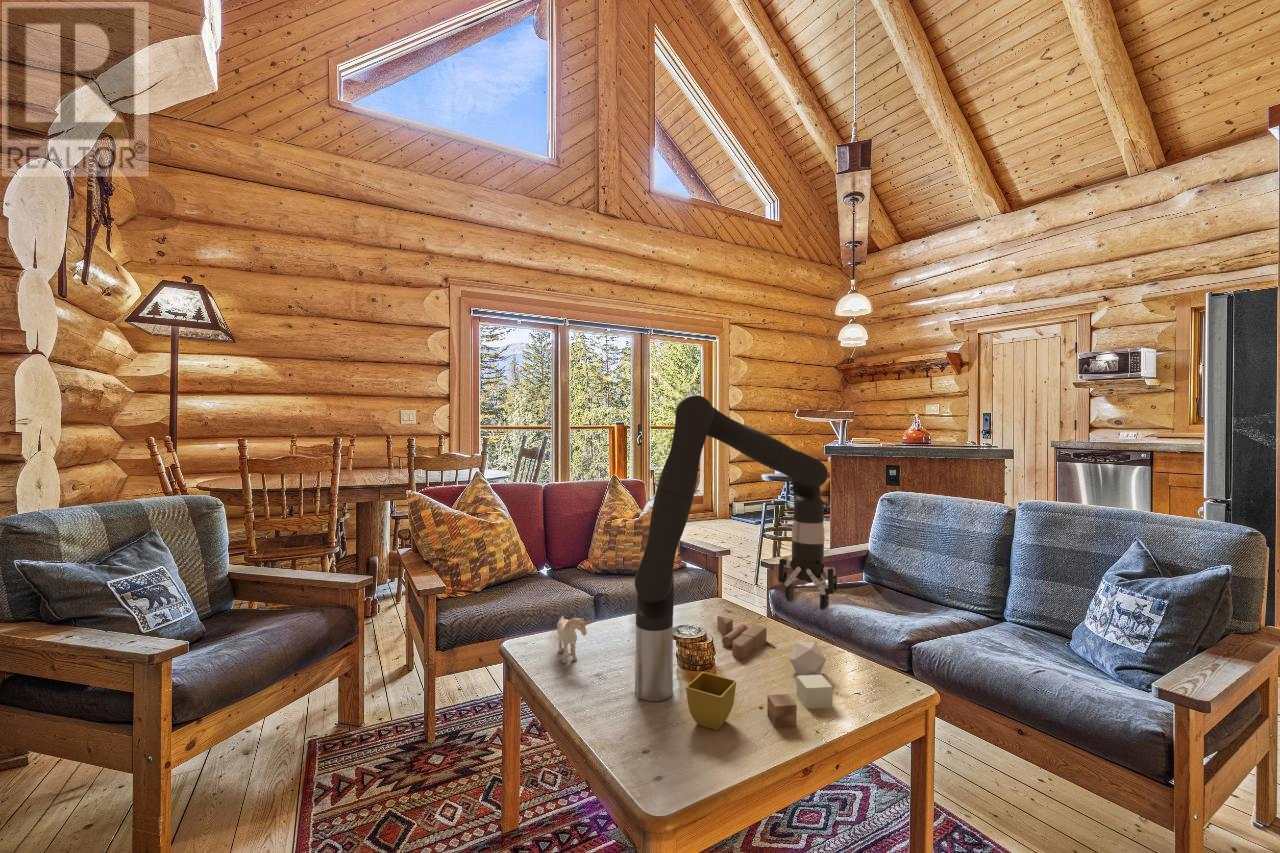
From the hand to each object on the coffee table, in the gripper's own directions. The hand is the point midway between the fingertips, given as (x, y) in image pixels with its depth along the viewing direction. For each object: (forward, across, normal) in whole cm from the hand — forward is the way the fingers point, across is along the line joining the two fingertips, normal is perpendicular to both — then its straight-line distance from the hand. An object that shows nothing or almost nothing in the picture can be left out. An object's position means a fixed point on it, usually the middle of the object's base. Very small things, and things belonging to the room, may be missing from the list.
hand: (806, 605), depth 139 cm
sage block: (+23, +3, 0) cm, 23 cm away
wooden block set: (+24, -31, +16) cm, 42 cm away
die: (+23, -5, +12) cm, 26 cm away
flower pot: (+23, -10, -25) cm, 36 cm away
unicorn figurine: (+24, -59, -21) cm, 67 cm away
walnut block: (+23, +1, -14) cm, 27 cm away
